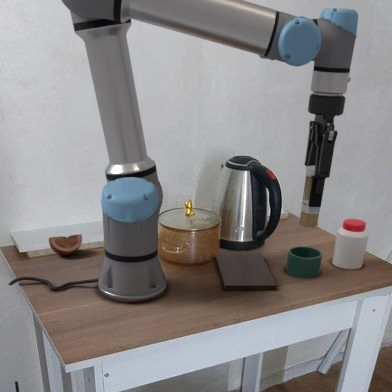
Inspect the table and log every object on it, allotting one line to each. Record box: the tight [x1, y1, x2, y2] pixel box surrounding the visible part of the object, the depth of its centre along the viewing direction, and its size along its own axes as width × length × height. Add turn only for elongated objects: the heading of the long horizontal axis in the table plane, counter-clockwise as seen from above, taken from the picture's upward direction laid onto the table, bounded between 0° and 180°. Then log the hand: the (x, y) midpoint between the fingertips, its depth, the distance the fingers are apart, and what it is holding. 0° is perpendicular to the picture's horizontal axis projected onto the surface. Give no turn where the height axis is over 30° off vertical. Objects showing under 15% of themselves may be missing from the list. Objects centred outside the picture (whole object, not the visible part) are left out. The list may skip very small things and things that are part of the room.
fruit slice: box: [48, 234, 83, 256], centre depth 141 cm, size 8×7×5 cm
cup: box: [285, 245, 324, 279], centre depth 137 cm, size 8×8×5 cm
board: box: [214, 252, 278, 291], centre depth 136 cm, size 12×20×1 cm, turn 5°
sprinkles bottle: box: [298, 166, 321, 228], centre depth 128 cm, size 5×5×13 cm
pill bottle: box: [331, 218, 370, 270], centre depth 141 cm, size 8×8×11 cm
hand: (311, 203), depth 129 cm, fingers closed on sprinkles bottle, 5 cm apart
